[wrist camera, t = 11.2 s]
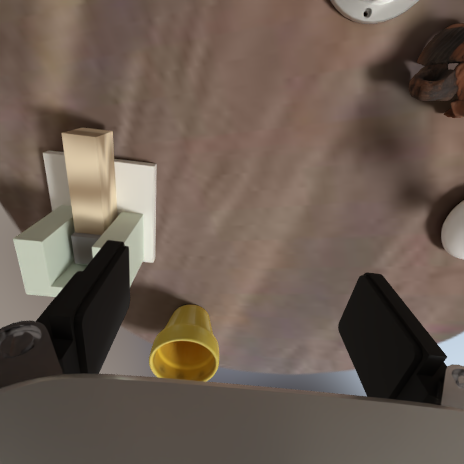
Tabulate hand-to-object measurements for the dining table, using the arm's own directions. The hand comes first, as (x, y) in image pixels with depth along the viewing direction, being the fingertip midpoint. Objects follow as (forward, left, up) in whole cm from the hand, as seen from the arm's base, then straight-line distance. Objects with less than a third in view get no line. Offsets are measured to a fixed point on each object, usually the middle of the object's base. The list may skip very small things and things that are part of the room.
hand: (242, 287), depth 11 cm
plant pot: (+30, -3, -30) cm, 43 cm away
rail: (+7, -17, -28) cm, 33 cm away
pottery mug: (-12, +24, -30) cm, 40 cm away
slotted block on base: (+11, -17, -30) cm, 36 cm away
